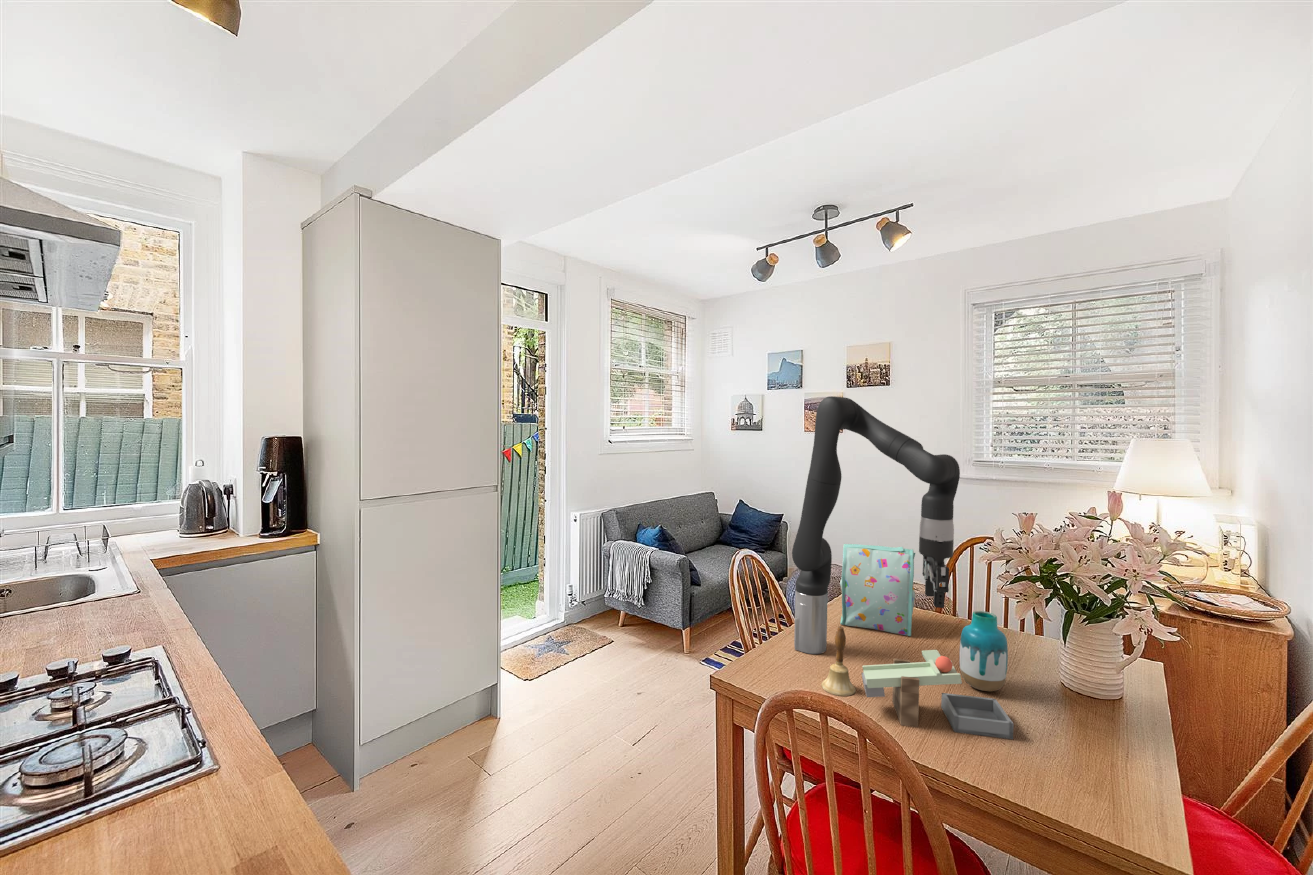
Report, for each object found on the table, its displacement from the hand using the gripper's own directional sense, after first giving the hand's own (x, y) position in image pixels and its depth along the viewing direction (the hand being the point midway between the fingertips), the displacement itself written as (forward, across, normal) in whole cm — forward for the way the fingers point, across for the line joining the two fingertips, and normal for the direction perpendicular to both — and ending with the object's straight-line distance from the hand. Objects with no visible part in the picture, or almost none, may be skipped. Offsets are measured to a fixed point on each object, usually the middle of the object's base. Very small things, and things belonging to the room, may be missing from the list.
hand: (934, 601), depth 136 cm
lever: (+18, +6, -7) cm, 20 cm away
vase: (+24, -8, +14) cm, 29 cm away
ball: (+11, +10, 0) cm, 15 cm away
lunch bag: (+24, -46, -6) cm, 52 cm away
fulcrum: (+24, +10, -8) cm, 27 cm away
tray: (+24, +10, +7) cm, 27 cm away
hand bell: (+24, +1, -22) cm, 33 cm away
